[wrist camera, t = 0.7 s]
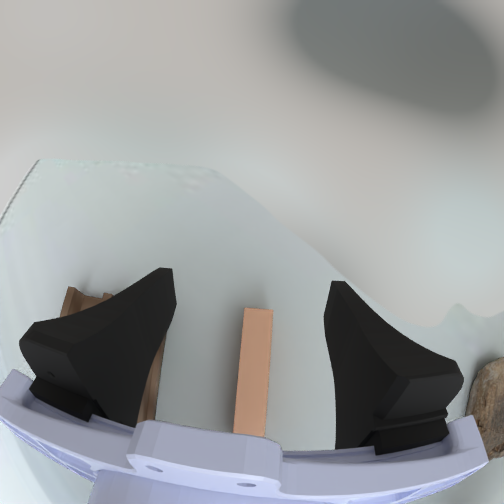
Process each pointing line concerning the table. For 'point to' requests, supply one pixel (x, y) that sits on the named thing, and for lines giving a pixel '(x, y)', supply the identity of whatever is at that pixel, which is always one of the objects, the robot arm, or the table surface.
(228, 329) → the table surface
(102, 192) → the table surface
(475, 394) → the brown rock
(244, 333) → the light brown long block
